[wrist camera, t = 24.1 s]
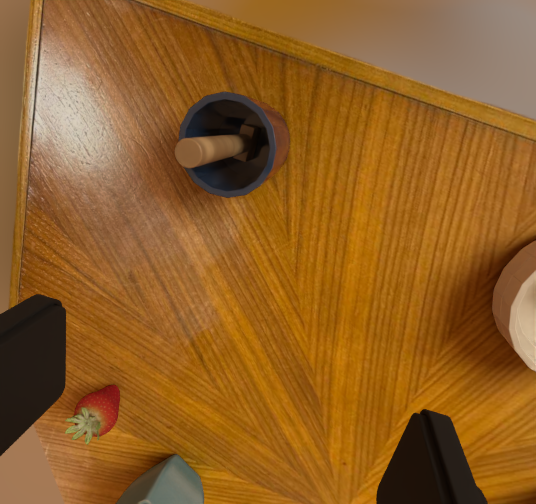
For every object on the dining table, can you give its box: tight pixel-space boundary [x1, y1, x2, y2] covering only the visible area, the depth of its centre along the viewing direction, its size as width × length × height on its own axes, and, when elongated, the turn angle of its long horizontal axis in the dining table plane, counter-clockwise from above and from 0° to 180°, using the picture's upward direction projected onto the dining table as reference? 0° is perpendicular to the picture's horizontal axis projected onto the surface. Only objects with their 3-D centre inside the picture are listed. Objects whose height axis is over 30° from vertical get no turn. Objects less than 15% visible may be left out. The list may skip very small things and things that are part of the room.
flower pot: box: [116, 454, 204, 504], centre depth 47 cm, size 9×9×9 cm
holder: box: [178, 92, 290, 198], centre depth 31 cm, size 7×7×9 cm
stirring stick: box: [175, 124, 261, 168], centre depth 27 cm, size 3×2×16 cm, turn 163°
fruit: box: [65, 385, 120, 445], centre depth 45 cm, size 5×5×8 cm
